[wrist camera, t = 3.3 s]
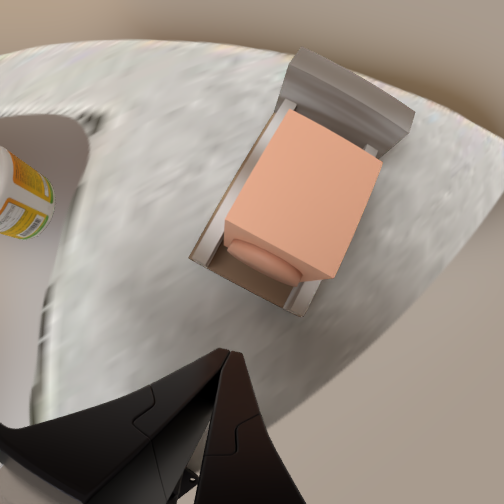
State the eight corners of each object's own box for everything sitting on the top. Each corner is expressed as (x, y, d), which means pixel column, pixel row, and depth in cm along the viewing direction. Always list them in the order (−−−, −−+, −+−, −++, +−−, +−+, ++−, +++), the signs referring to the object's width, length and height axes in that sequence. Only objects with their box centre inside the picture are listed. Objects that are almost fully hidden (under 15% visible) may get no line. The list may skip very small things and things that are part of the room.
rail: (298, 316, 22) (330, 327, 15) (189, 258, 22) (175, 245, 15) (373, 151, 24) (415, 112, 17) (283, 100, 24) (301, 46, 17)
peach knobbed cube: (289, 291, 20) (327, 291, 13) (218, 253, 20) (217, 232, 13) (332, 203, 21) (383, 162, 14) (267, 167, 21) (289, 108, 13)
